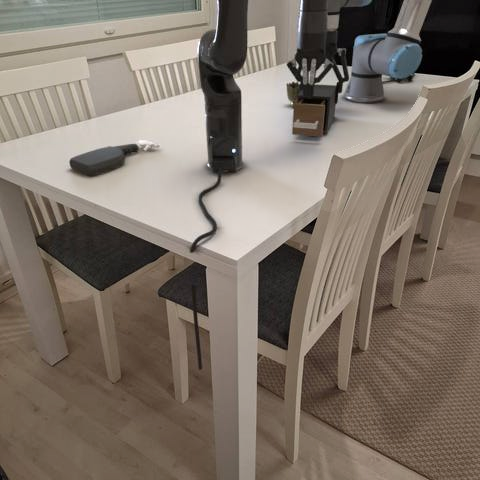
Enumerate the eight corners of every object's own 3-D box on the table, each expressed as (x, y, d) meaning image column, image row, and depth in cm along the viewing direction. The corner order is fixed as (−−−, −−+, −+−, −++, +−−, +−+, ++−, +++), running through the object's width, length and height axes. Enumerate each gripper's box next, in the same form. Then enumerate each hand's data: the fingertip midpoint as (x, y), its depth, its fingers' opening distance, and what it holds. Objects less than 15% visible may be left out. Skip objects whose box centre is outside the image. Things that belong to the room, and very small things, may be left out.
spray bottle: (67, 168, 120) (139, 144, 136) (91, 178, 114) (163, 151, 130) (65, 157, 118) (137, 134, 134) (89, 167, 112) (162, 142, 128)
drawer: (319, 142, 126) (321, 110, 122) (288, 139, 129) (289, 108, 124) (329, 121, 147) (332, 93, 142) (302, 119, 149) (304, 91, 144)
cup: (282, 107, 166) (283, 85, 162) (290, 102, 172) (290, 80, 168) (301, 109, 163) (302, 87, 159) (308, 104, 169) (309, 82, 165)
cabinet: (327, 132, 138) (330, 96, 133) (295, 130, 141) (297, 95, 136) (334, 117, 155) (337, 85, 149) (305, 115, 157) (307, 83, 152)
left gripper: (339, 28, 116) (333, 95, 126) (290, 27, 120) (287, 93, 129) (336, 32, 110) (330, 102, 120) (284, 31, 114) (281, 99, 123)
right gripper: (363, 28, 139) (355, 101, 151) (292, 27, 145) (289, 97, 156) (362, 31, 133) (353, 106, 145) (287, 30, 139) (284, 102, 150)
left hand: (307, 97), depth 124 cm, fingers closed
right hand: (319, 101), depth 150 cm, fingers closed on cabinet, 10 cm apart
